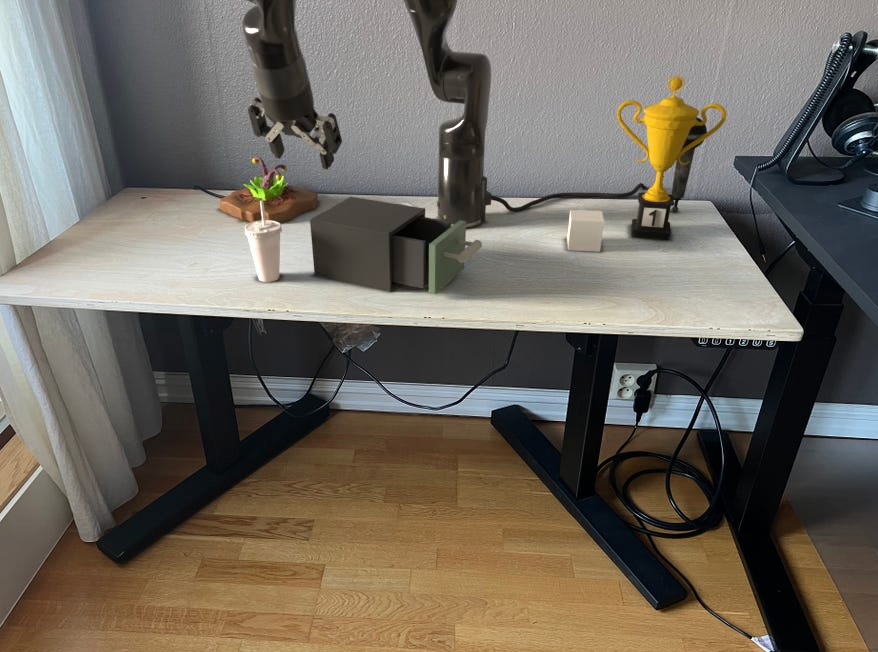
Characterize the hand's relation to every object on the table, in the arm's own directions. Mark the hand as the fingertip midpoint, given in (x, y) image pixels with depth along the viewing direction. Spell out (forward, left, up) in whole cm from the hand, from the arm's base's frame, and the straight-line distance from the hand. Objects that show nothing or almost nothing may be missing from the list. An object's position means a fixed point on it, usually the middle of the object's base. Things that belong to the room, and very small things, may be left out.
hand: (303, 160), depth 117 cm
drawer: (-18, +9, -20) cm, 28 cm away
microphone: (-82, -2, -21) cm, 85 cm away
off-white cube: (-53, +6, -21) cm, 57 cm away
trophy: (-69, +6, -21) cm, 72 cm away
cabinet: (-11, 0, -21) cm, 24 cm away
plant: (-2, -42, -21) cm, 47 cm away
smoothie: (+7, -4, -21) cm, 23 cm away
